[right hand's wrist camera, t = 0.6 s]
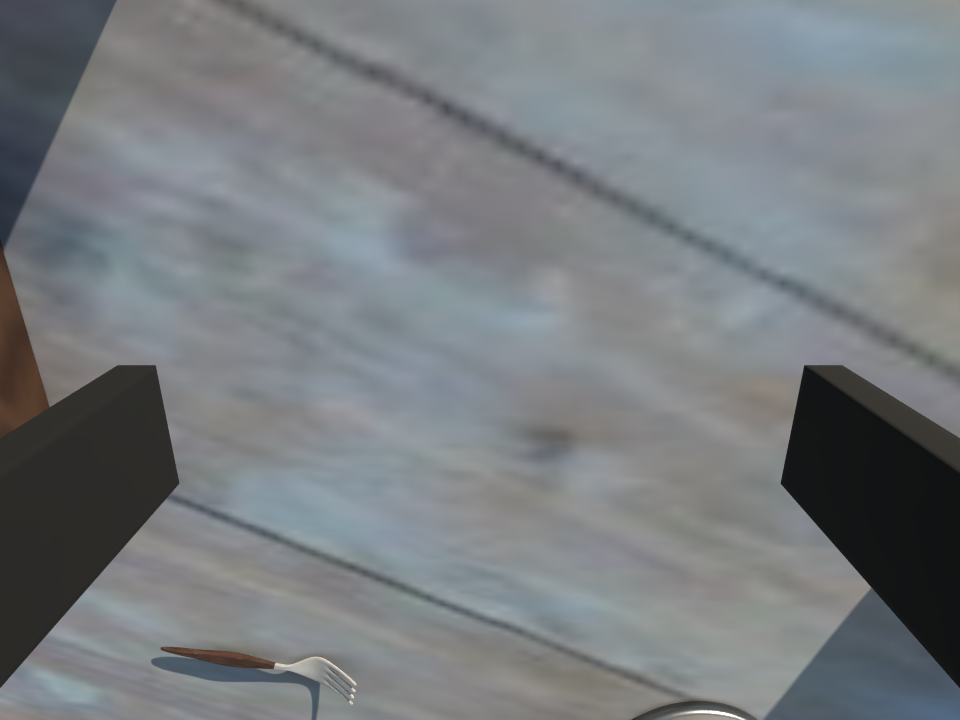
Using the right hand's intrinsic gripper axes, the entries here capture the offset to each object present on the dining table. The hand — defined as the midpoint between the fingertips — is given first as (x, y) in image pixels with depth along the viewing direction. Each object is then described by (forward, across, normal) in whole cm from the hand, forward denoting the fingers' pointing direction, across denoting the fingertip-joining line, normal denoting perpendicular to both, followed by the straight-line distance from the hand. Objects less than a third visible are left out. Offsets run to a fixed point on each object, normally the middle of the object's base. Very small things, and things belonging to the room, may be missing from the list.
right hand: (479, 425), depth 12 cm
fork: (+26, +18, +34) cm, 47 cm away
